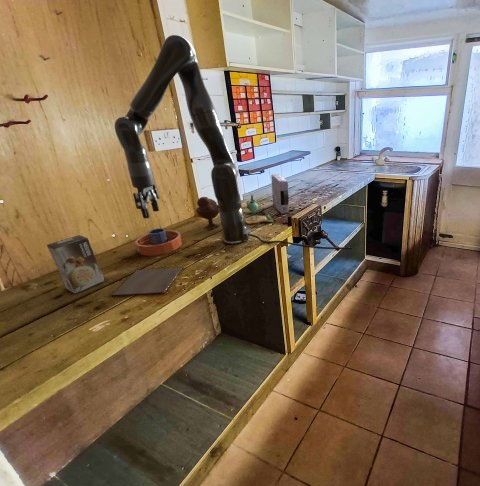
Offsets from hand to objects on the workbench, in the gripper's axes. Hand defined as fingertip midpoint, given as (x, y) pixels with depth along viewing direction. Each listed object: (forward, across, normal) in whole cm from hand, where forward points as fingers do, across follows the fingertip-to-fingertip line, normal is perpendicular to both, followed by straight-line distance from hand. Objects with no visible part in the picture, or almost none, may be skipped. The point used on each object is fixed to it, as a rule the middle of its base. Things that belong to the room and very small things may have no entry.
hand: (151, 214), depth 124 cm
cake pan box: (+14, +45, -47) cm, 67 cm away
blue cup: (+14, 0, 0) cm, 14 cm away
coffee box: (+15, -28, +13) cm, 34 cm away
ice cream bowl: (+15, +22, -15) cm, 30 cm away
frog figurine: (+14, +26, -36) cm, 47 cm away
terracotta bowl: (+14, 0, 0) cm, 15 cm away
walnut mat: (+14, -28, -8) cm, 33 cm away
